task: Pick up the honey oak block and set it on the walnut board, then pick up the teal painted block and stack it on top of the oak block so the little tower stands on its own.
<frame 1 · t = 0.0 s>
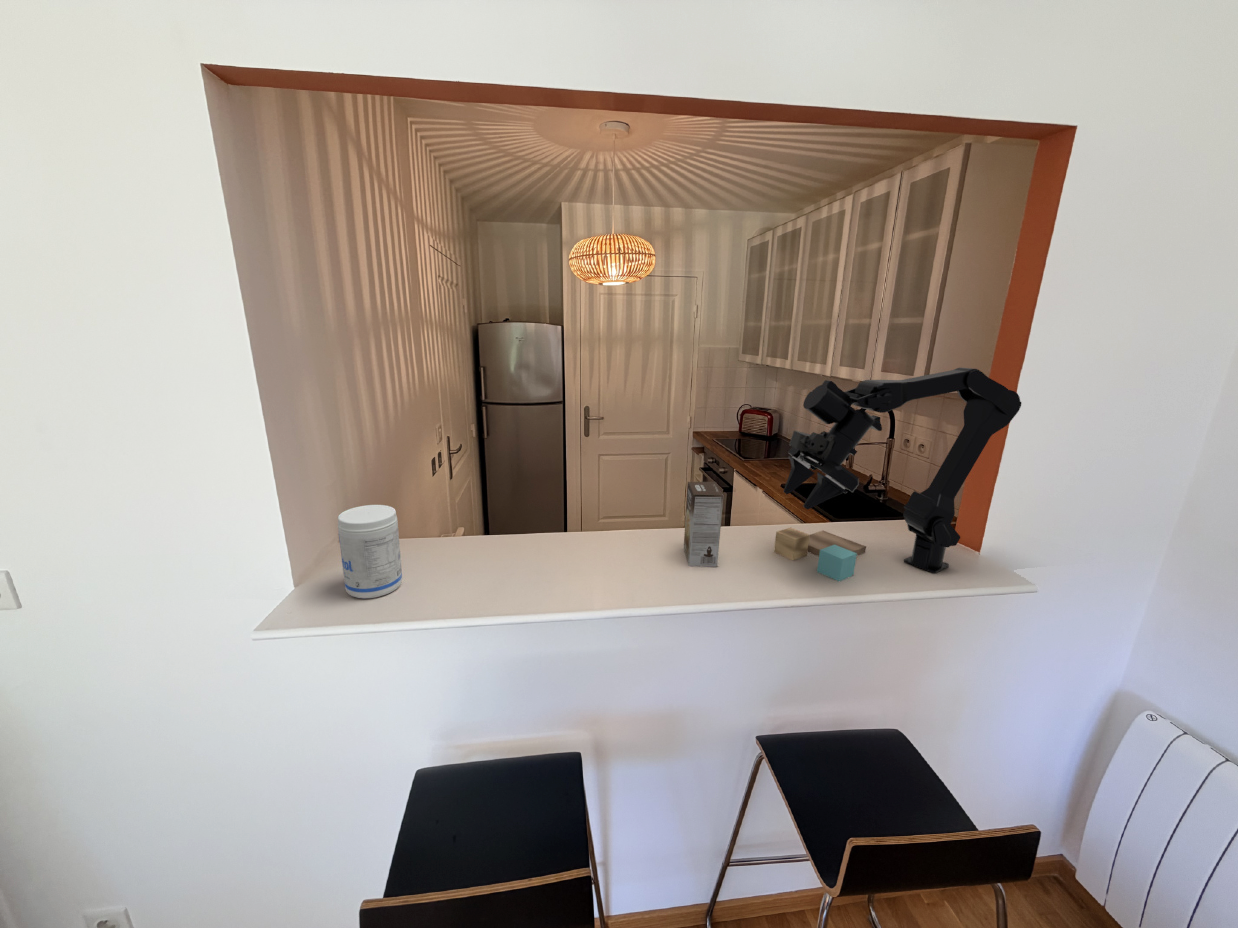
hand: (794, 500, 99), 15 cm above the countertop, tool tilted 35°, fingers open, 9 cm apart
teal block: (834, 573, 101), on the countertop
coffee box: (699, 558, 107), on the countertop
walnut board: (828, 550, 113), on the countertop
oak block: (790, 554, 110), on the countertop
supplement tub: (375, 588, 91), on the countertop
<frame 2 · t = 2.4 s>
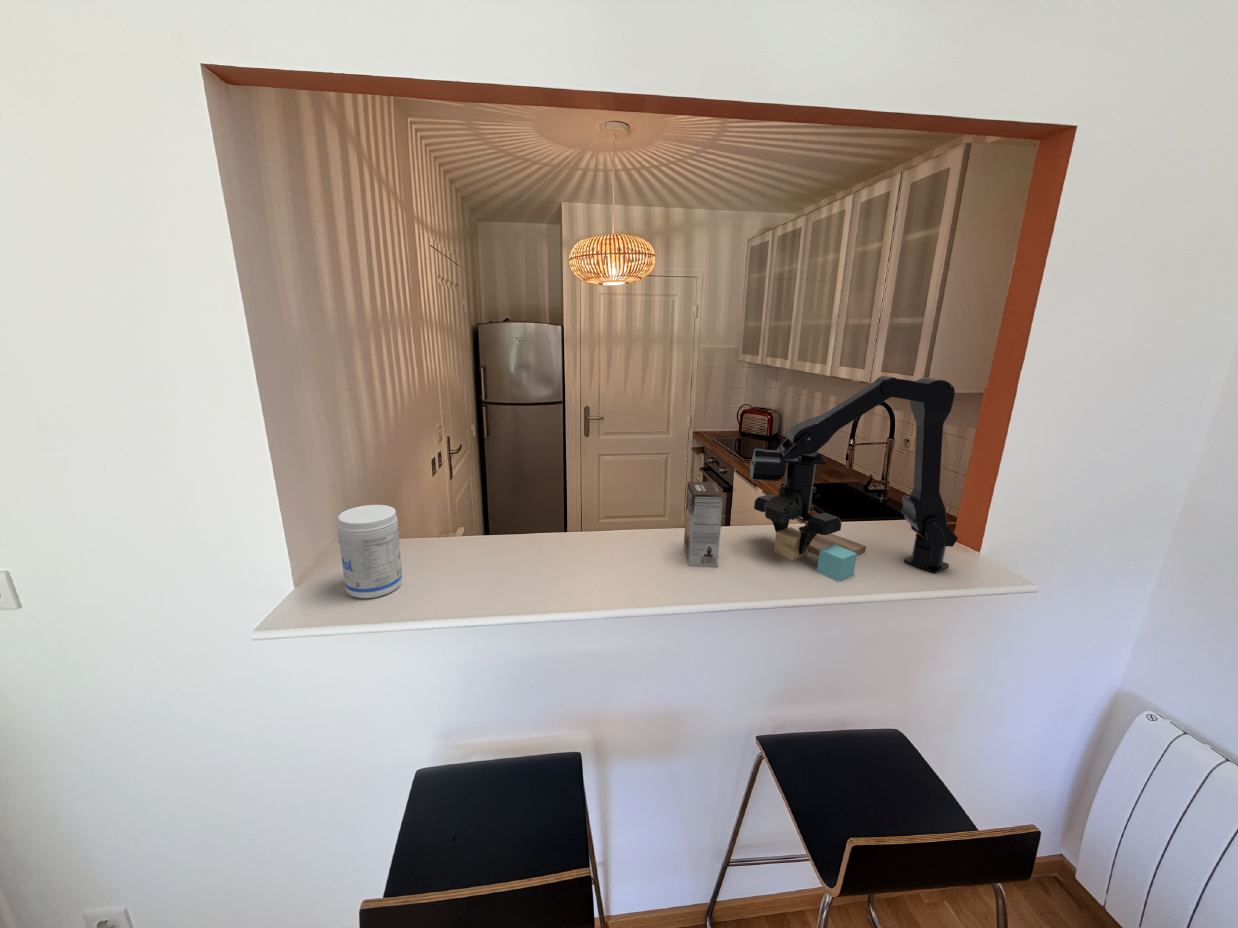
hand: (790, 549, 109), 1 cm above the countertop, tool pointing down, fingers closed on oak block, 5 cm apart
oak block: (790, 553, 110), on the countertop, touching gripper
everything else where it was.
when the fingers open (4 cm above the countertop, at t = 6.5 s): oak block drops 2 cm, resting on walnut board.
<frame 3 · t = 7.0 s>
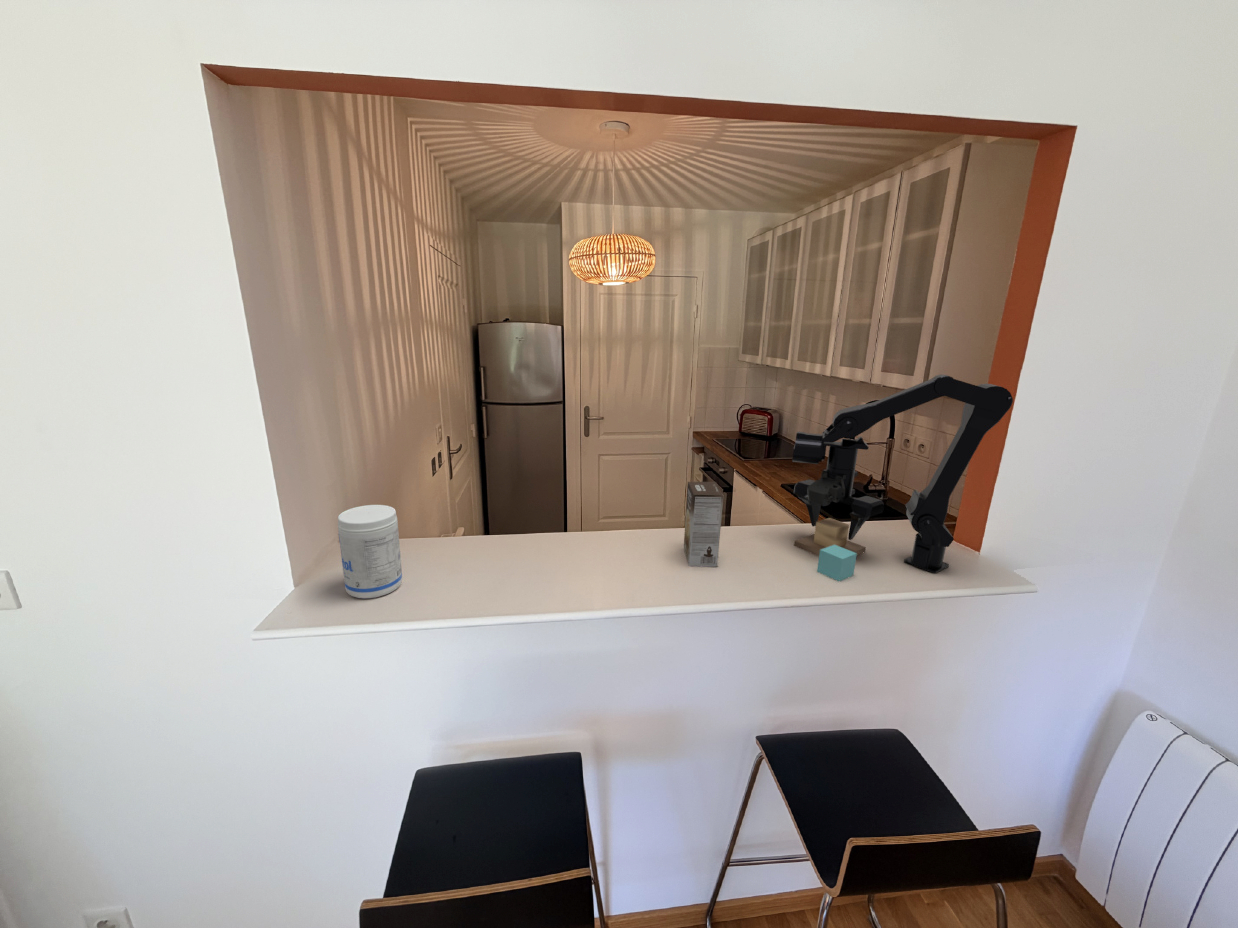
hand: (831, 532, 112), 4 cm above the countertop, tool pointing down, fingers open, 9 cm apart
walnut board: (828, 551, 113), on the countertop, touching oak block
oak block: (829, 543, 112), point 1 cm above the countertop, touching walnut board
everything else where it was.
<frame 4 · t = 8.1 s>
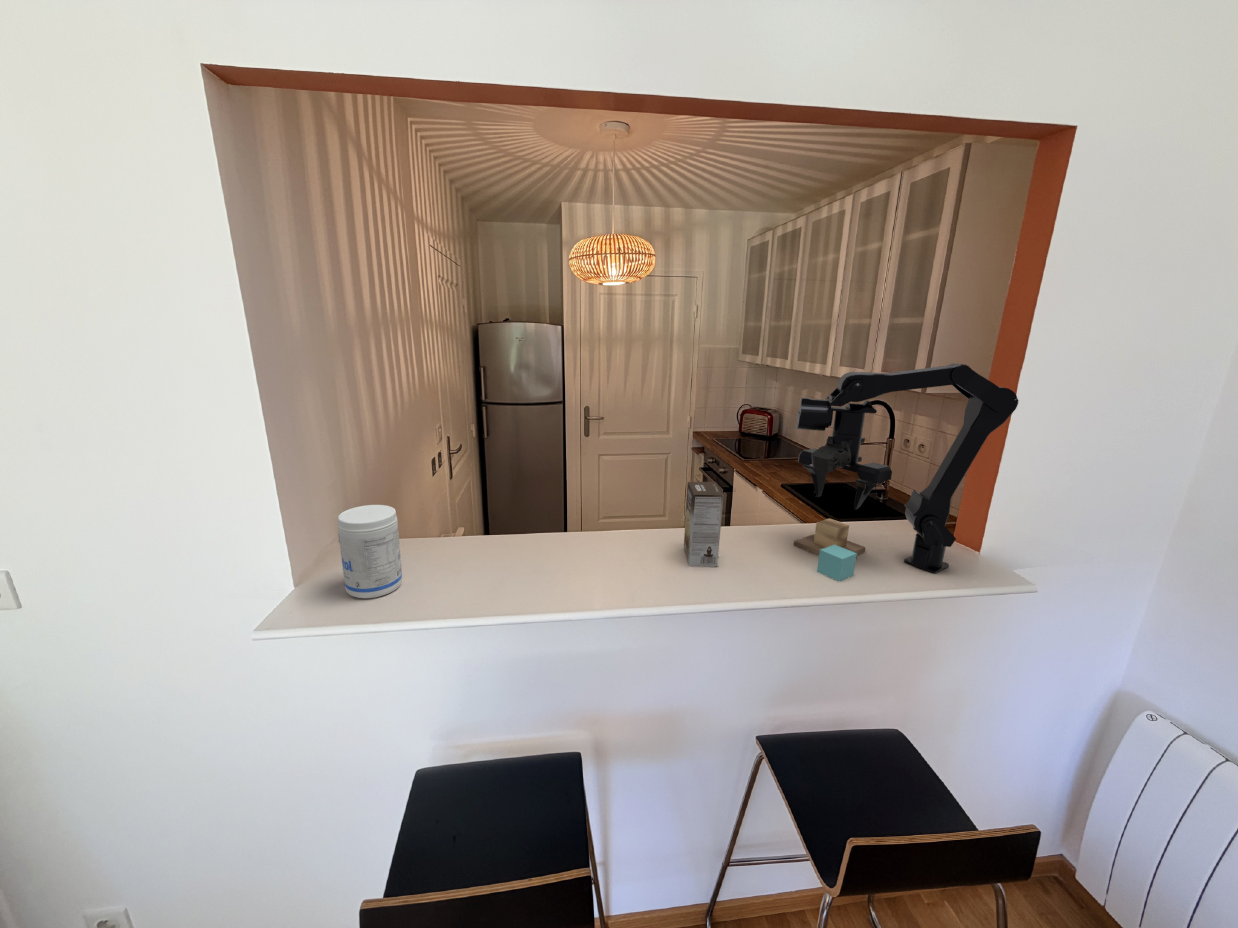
hand: (836, 502, 108), 12 cm above the countertop, tool pointing down, fingers open, 9 cm apart
walnut board: (828, 551, 113), on the countertop
oak block: (829, 544, 112), point 1 cm above the countertop
everything else where it was.
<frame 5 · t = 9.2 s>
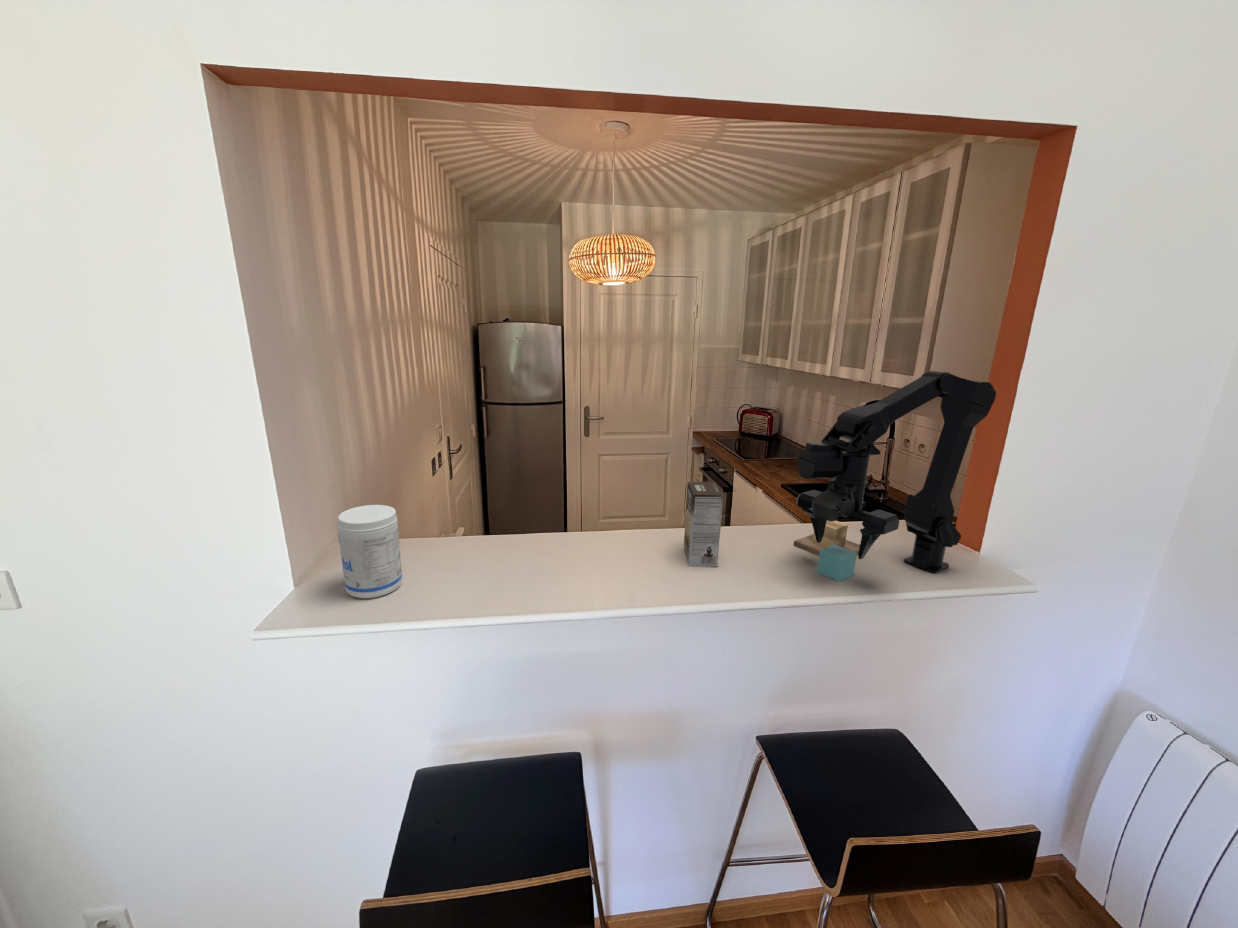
hand: (839, 550, 100), 5 cm above the countertop, tool pointing down, fingers open, 9 cm apart
nothing on the countertop moved.
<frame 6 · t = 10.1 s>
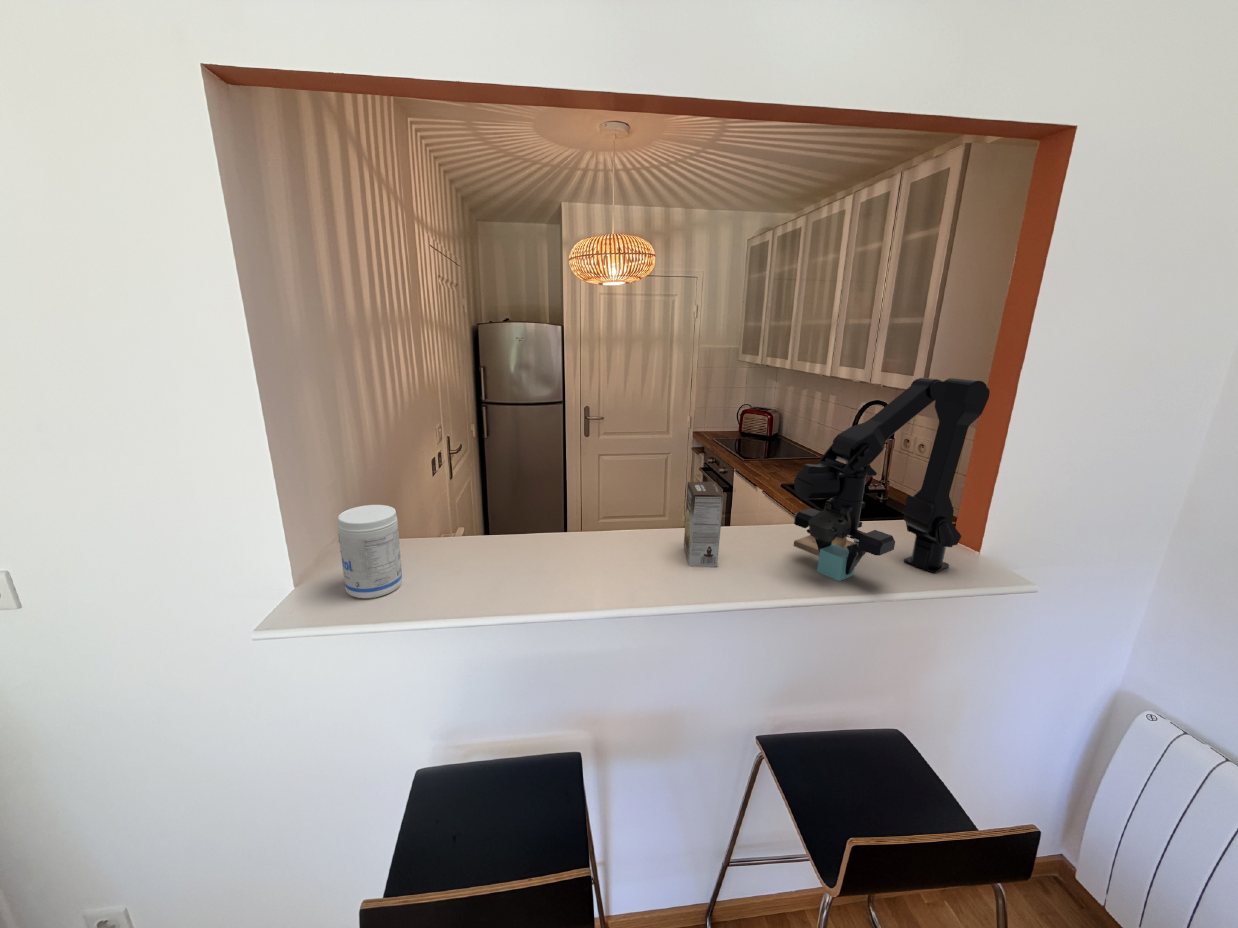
hand: (835, 568, 101), 1 cm above the countertop, tool pointing down, fingers closed on teal block, 5 cm apart
teal block: (835, 573, 101), on the countertop, touching gripper
walnut board: (828, 551, 113), on the countertop, touching oak block
oak block: (829, 543, 112), point 1 cm above the countertop, touching walnut board
everything else where it was.
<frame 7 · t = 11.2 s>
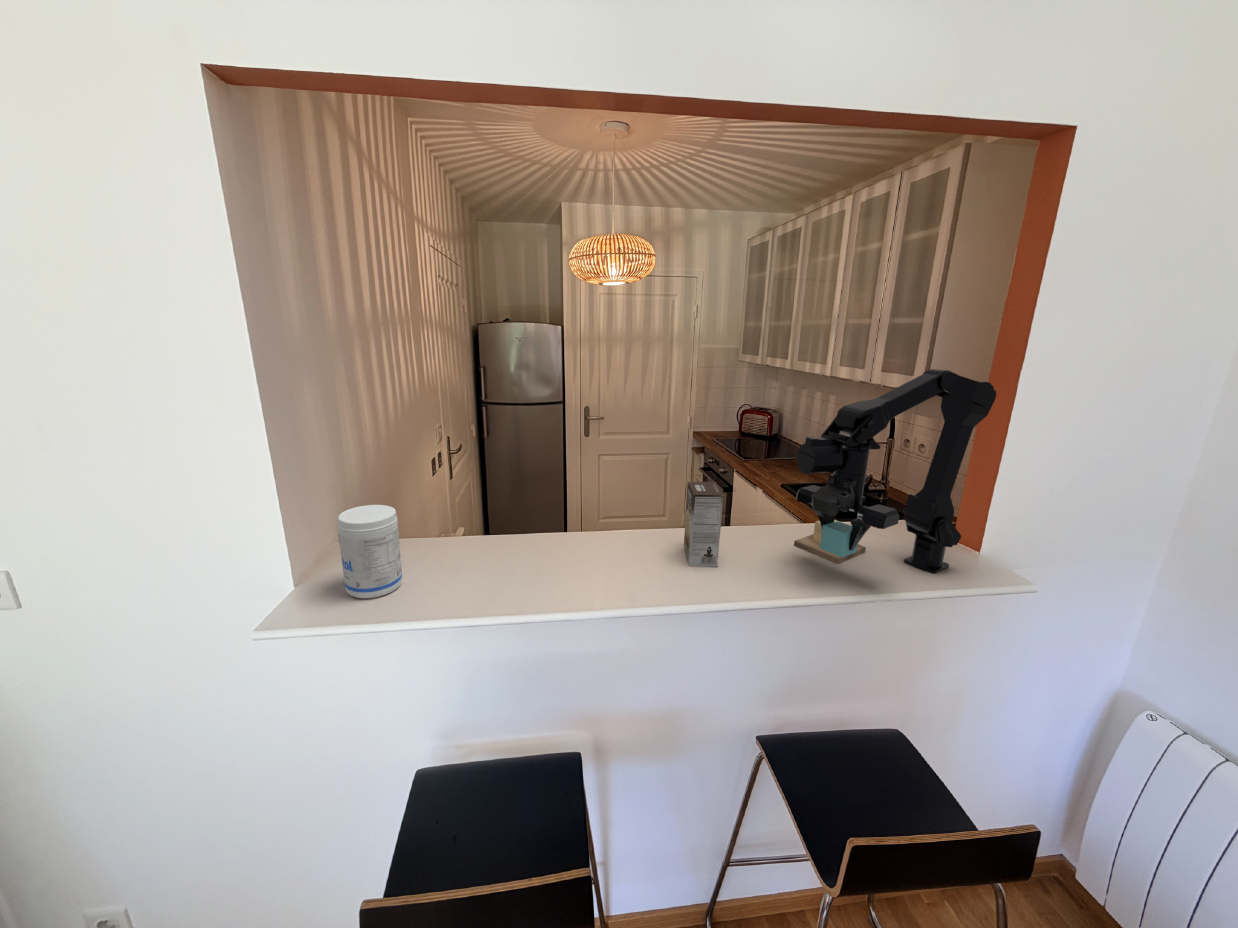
hand: (838, 545, 99), 6 cm above the countertop, tool pointing down, fingers closed on teal block, 5 cm apart
teal block: (837, 550, 100), point 5 cm above the countertop, touching gripper
everything else where it was.
when the fingers open (9 cm above the countertop, at t = 13.7 s): teal block drops 2 cm, point 6 cm above the countertop.
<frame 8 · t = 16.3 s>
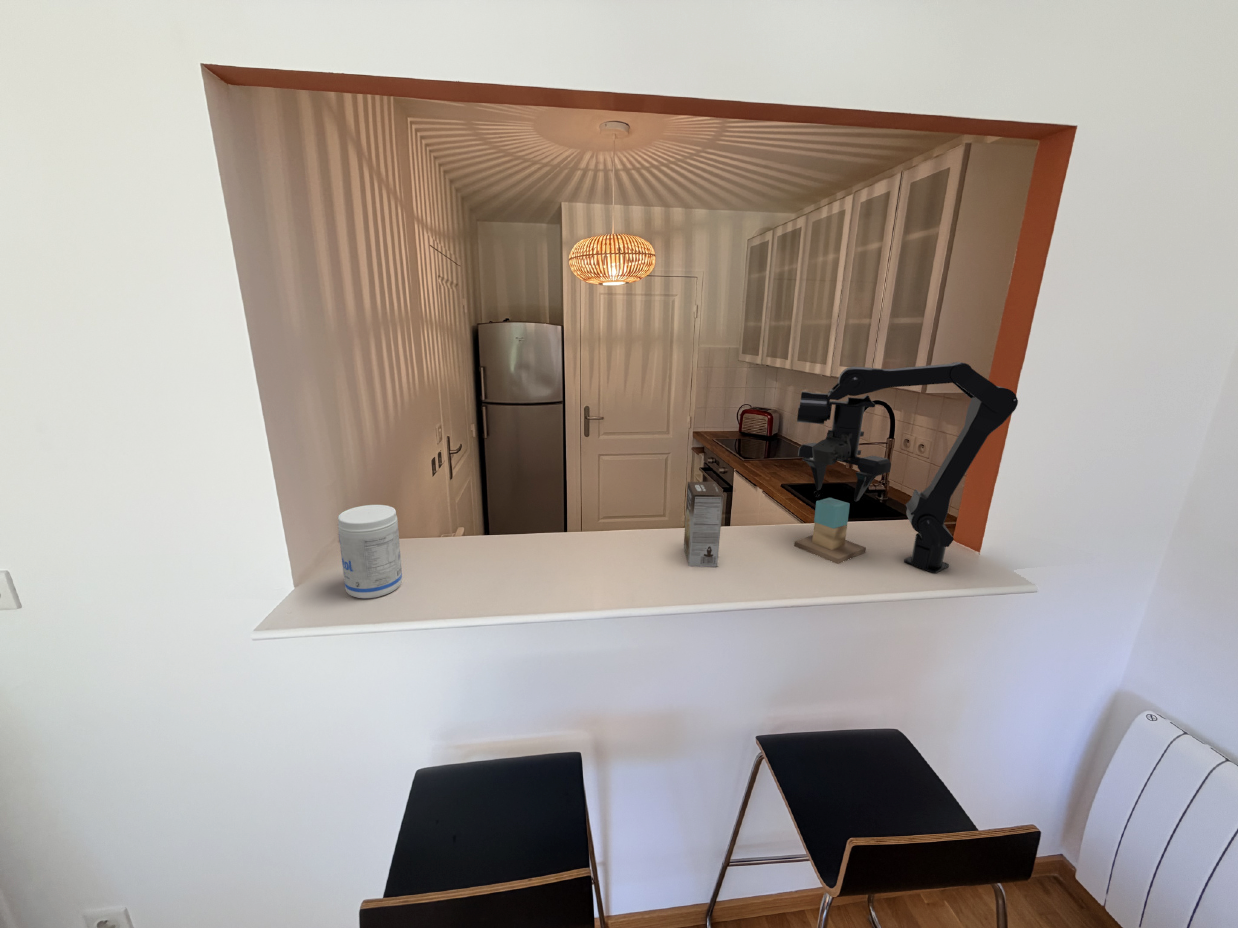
hand: (836, 495, 109), 13 cm above the countertop, tool pointing down, fingers open, 9 cm apart
teal block: (830, 523, 111), point 6 cm above the countertop
everything else where it was.
at the end: oak block 0.4 cm off-centre on the walnut board, point 2.1 cm above the walnut board's base; teal block 0.3 cm off-centre on the oak block, point 5.0 cm above the oak block's base; the gripper is holding nothing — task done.
